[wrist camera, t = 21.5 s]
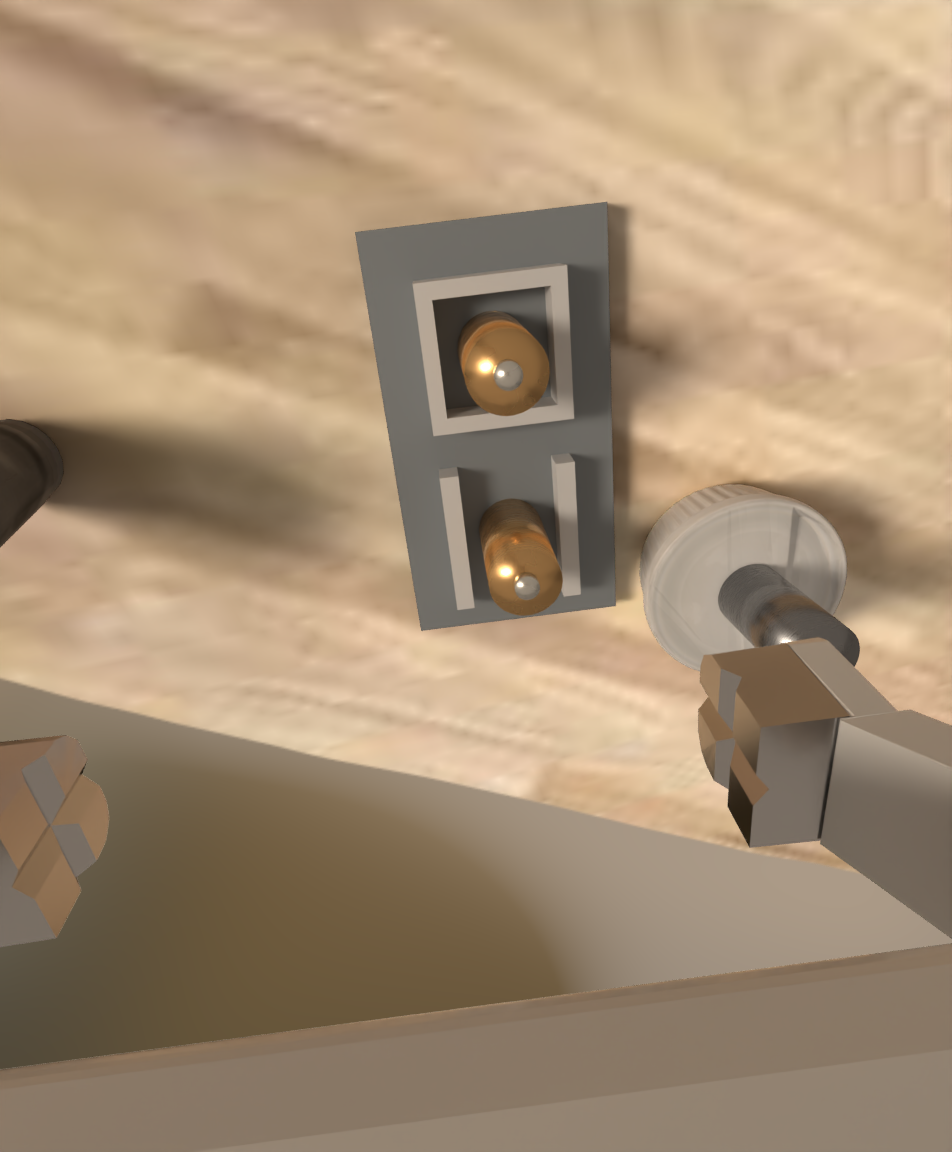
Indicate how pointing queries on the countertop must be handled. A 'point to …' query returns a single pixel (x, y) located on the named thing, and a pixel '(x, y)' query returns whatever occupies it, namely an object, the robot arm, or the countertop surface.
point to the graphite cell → (779, 612)
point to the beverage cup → (25, 473)
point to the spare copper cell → (519, 558)
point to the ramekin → (731, 563)
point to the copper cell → (502, 364)
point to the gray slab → (487, 441)
